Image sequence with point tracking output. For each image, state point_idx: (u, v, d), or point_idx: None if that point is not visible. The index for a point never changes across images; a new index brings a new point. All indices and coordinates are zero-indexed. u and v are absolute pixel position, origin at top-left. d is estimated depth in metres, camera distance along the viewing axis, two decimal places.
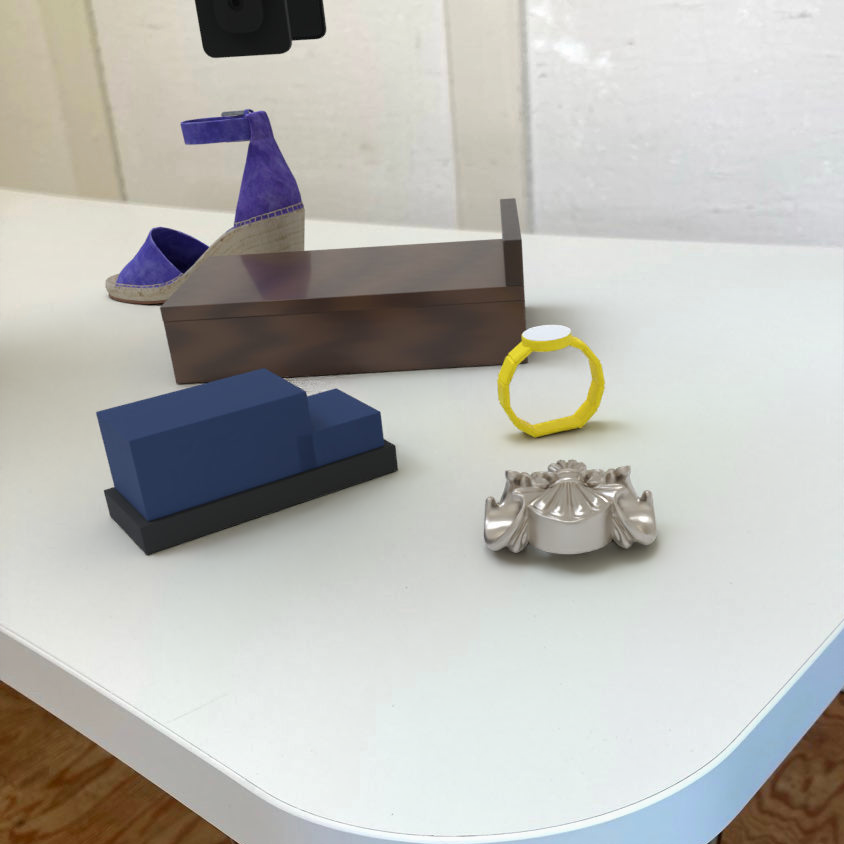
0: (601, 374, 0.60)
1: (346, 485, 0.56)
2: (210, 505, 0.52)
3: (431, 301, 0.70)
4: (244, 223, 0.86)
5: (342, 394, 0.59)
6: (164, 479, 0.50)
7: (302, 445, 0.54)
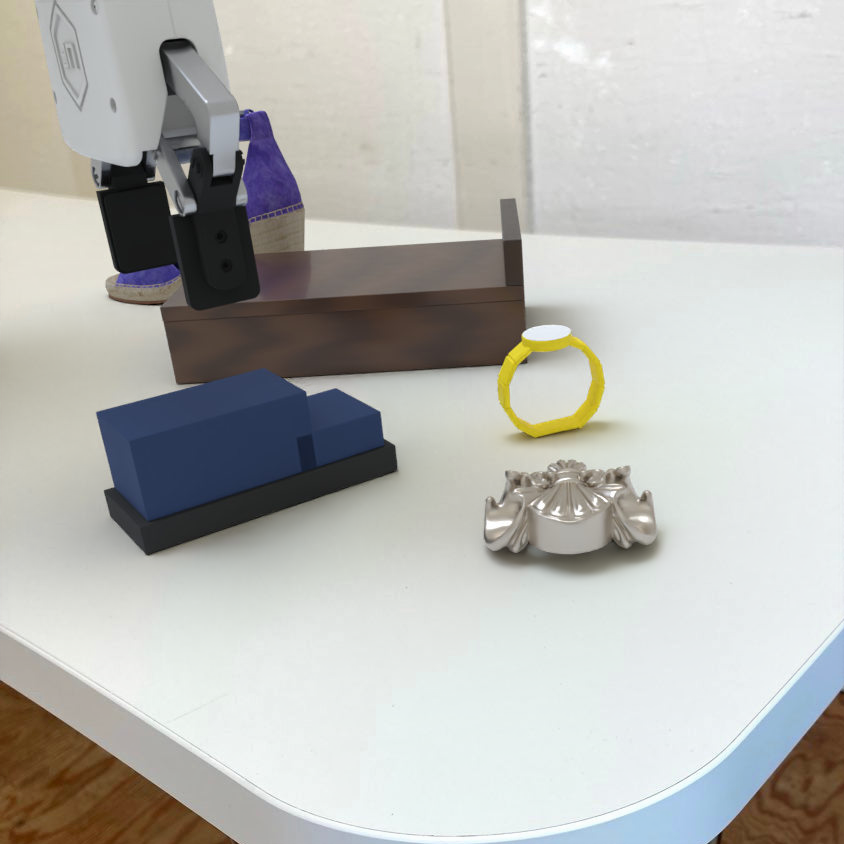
0: (601, 374, 0.60)
1: (346, 485, 0.56)
2: (210, 505, 0.52)
3: (431, 301, 0.70)
4: None
5: (342, 394, 0.59)
6: (164, 479, 0.50)
7: (302, 445, 0.54)
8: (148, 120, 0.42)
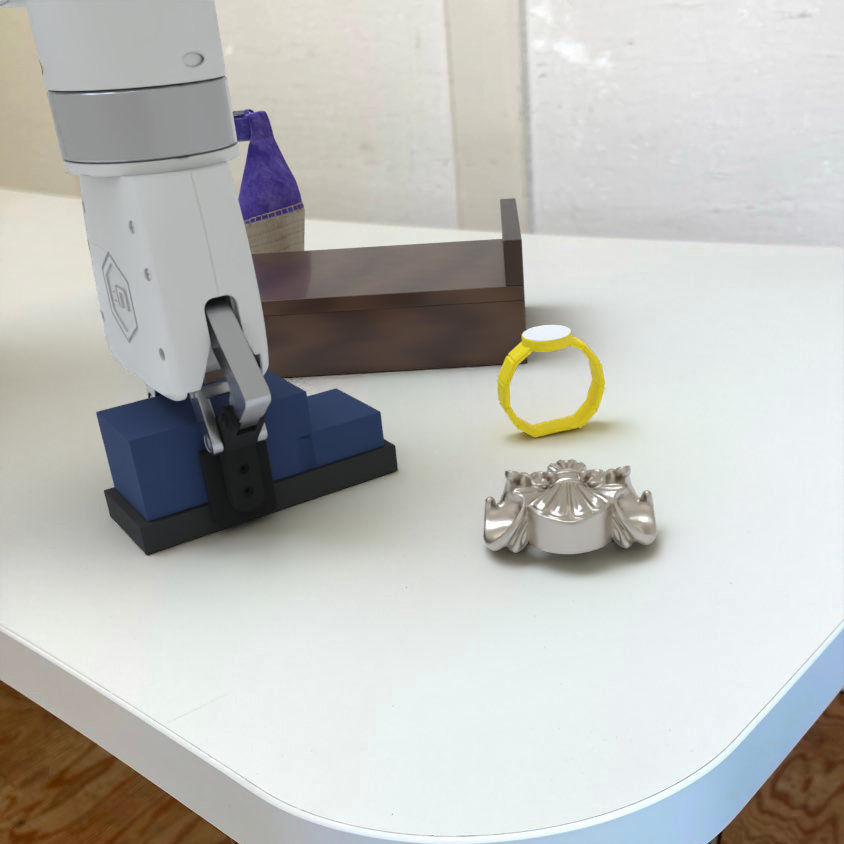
0: (601, 374, 0.60)
1: (346, 485, 0.56)
2: None
3: (431, 301, 0.70)
4: (244, 223, 0.86)
5: (342, 394, 0.59)
6: (164, 479, 0.50)
7: (302, 445, 0.54)
8: (193, 367, 0.46)
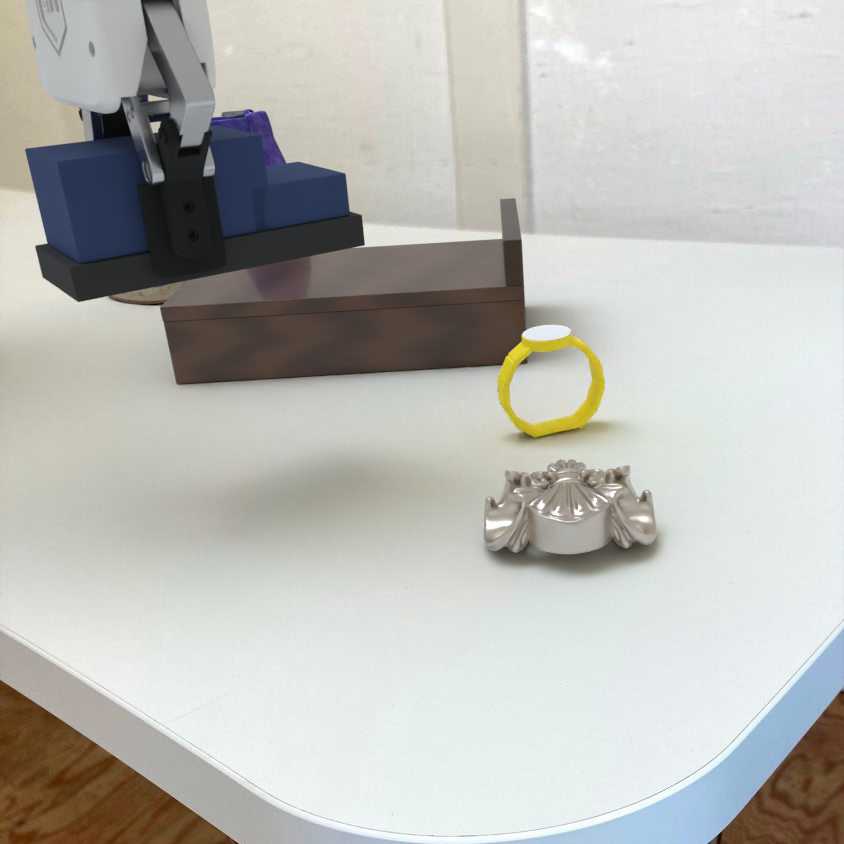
0: (601, 374, 0.60)
1: (306, 254, 0.51)
2: None
3: (431, 301, 0.70)
4: None
5: (305, 164, 0.53)
6: (98, 215, 0.45)
7: (257, 199, 0.49)
8: (127, 66, 0.41)
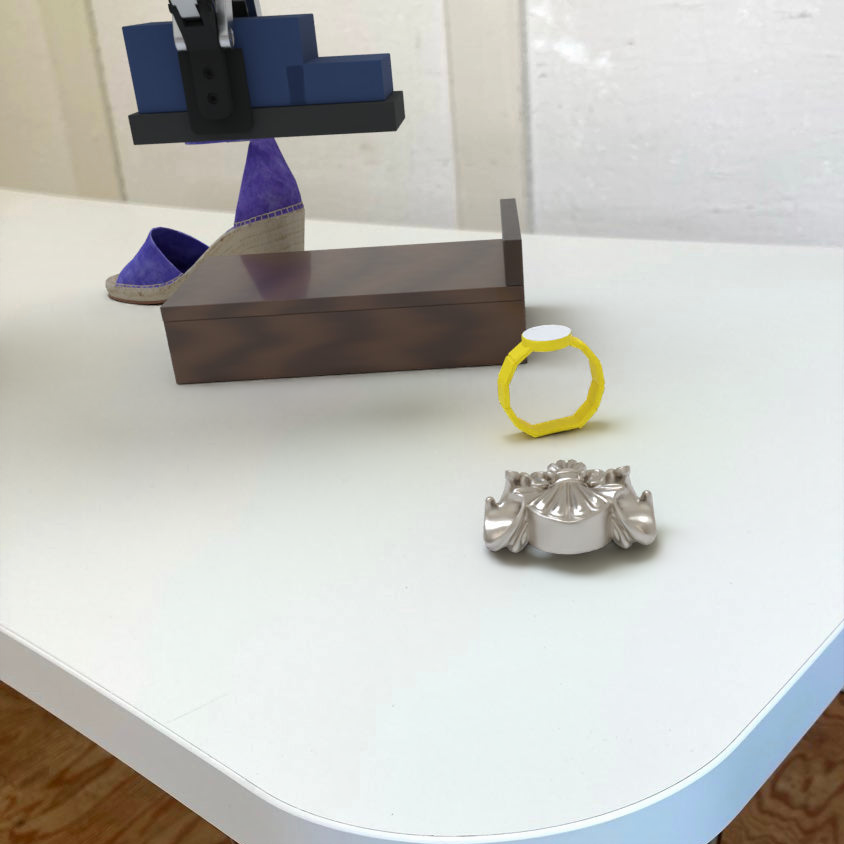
0: (601, 374, 0.60)
1: (336, 132, 0.56)
2: None
3: (431, 301, 0.70)
4: (244, 223, 0.86)
5: (383, 54, 0.58)
6: (153, 74, 0.55)
7: (291, 76, 0.55)
8: None
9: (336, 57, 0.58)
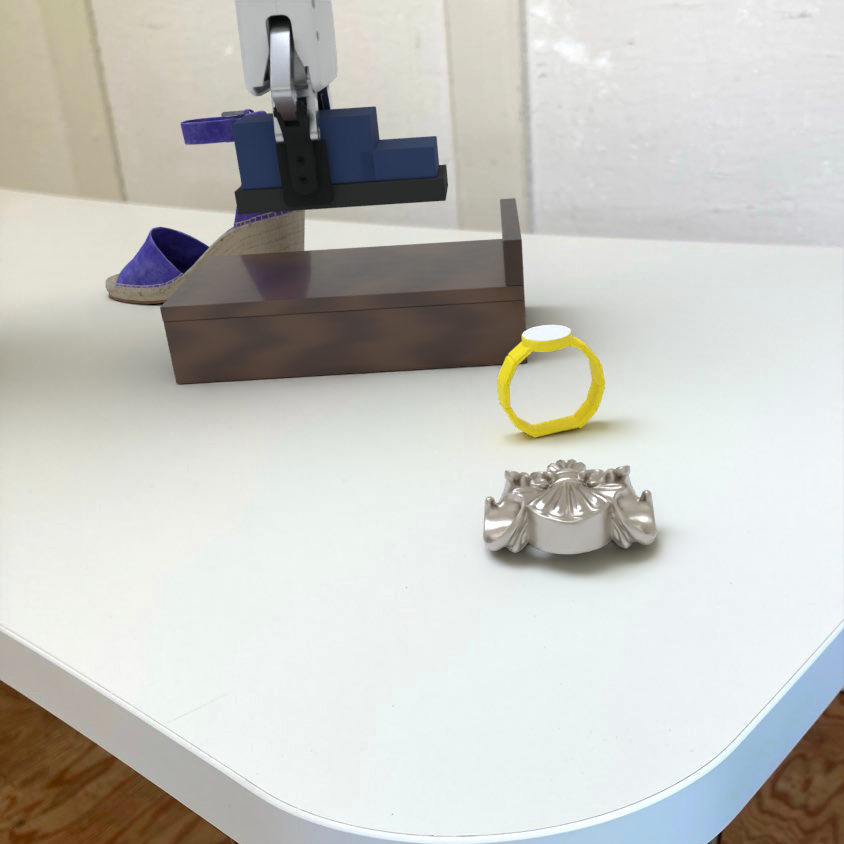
0: (601, 374, 0.60)
1: (398, 201, 0.71)
2: None
3: (431, 301, 0.70)
4: (244, 223, 0.86)
5: (432, 138, 0.73)
6: (255, 160, 0.70)
7: (363, 159, 0.70)
8: (256, 67, 0.65)
9: (395, 141, 0.73)
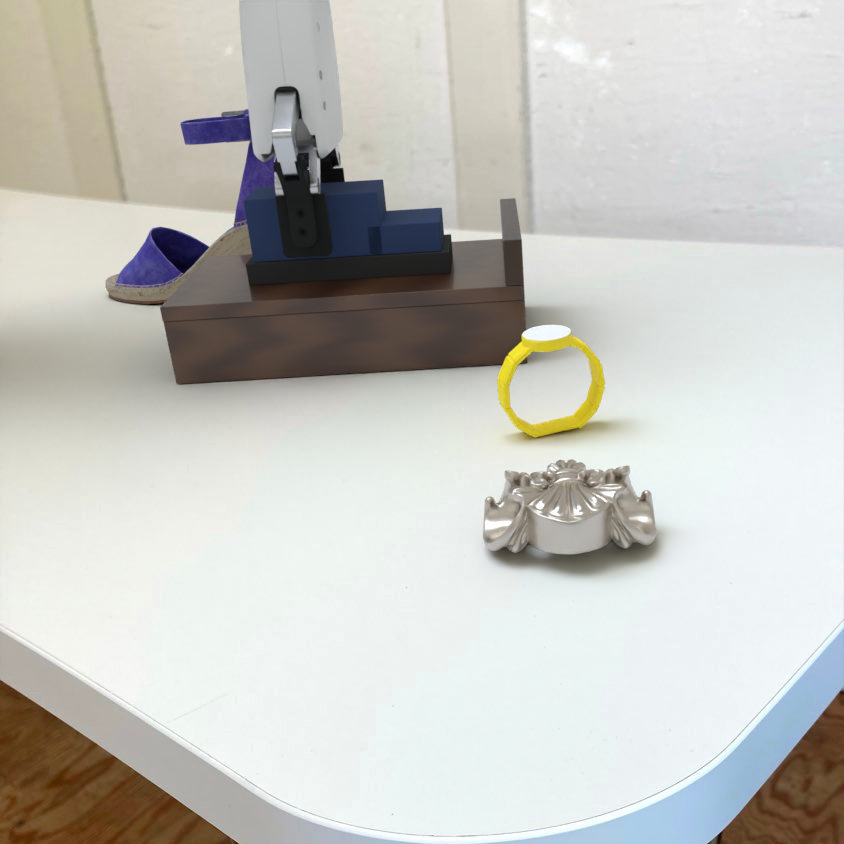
0: (601, 374, 0.60)
1: (404, 274, 0.73)
2: (296, 261, 0.73)
3: (431, 301, 0.70)
4: (244, 223, 0.86)
5: (437, 210, 0.75)
6: (265, 234, 0.72)
7: (371, 234, 0.72)
8: (264, 135, 0.67)
9: (401, 213, 0.75)
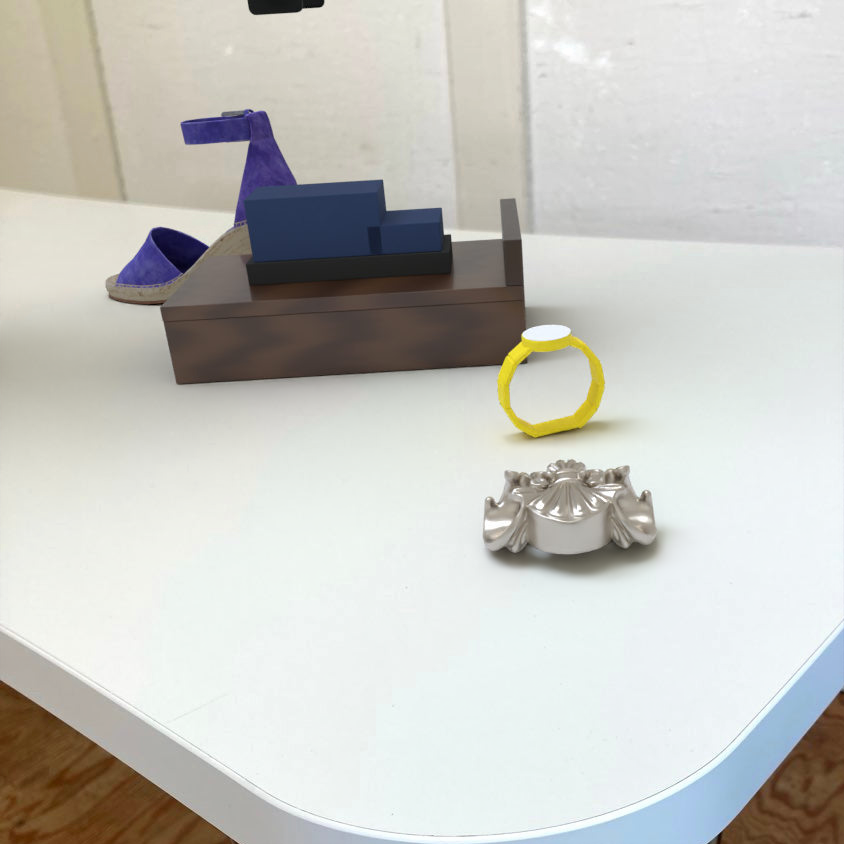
0: (601, 374, 0.60)
1: (404, 274, 0.73)
2: (296, 261, 0.73)
3: (431, 301, 0.70)
4: (244, 223, 0.86)
5: (437, 210, 0.75)
6: (265, 234, 0.72)
7: (371, 234, 0.72)
8: None
9: (401, 213, 0.75)
